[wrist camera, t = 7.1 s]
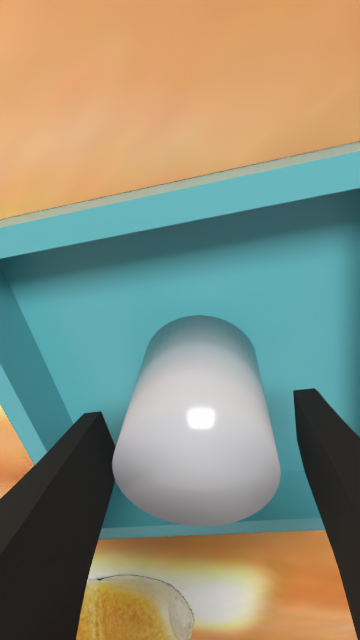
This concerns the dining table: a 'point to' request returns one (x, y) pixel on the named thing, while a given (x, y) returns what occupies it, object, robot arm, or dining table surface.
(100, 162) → the dining table surface
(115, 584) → the bread roll
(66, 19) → the dining table surface
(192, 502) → the white cylinder
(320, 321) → the tray
